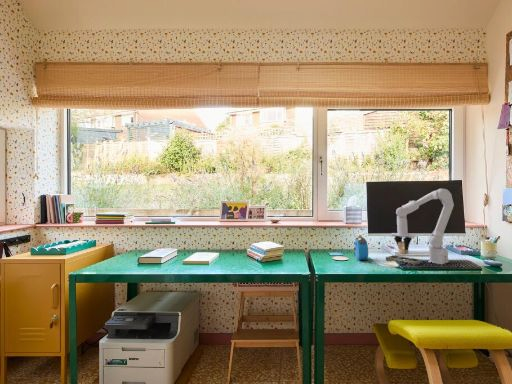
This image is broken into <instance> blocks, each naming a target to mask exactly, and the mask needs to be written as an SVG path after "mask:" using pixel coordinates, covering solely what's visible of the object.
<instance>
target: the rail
mask: <svg viewBox="0 0 512 384" xmlns="http://www.w3.org/2000/svg"><path fill="white" fill-rule="evenodd" d="M403 259H405V260H403ZM396 260H399V261H404V262H408V263H412V264H418V263H421V262H423V263H424V260H423V259H420V258H413V257H407V256H401V255H394V254H392V255H389V256H385V261H388V262H392V261H396ZM411 260H413V261H411ZM418 265H419V264H418Z"/></svg>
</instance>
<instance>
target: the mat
mask: <svg viewBox="0 0 512 384" xmlns="http://www.w3.org/2000/svg"><path fill="white" fill-rule="evenodd" d="M383 265H385V266H390V267H396V268H397V267H400V266H399V265H398V264H397V263H396V262H395V261H388V262H385V263H383Z"/></svg>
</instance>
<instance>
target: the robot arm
mask: <svg viewBox="0 0 512 384" xmlns="http://www.w3.org/2000/svg"><path fill="white" fill-rule="evenodd" d="M431 200H439V201H440V202H441V204H442V205H443V206H442V208H441V212H440V215H439V218H438V219H437V222H436V226H435V228H434V230H433V231H432V234H431V235H430V236H429V237H428V243H429V245H428V251H429V252H428V253H429V260H427V261H428V262H427V263H431V262H432V264H437V265H444V264H447V263H449V262H450V261H449V251H448V249H447V248H444V247H443V244H444V242H443V239H444V233H445V231H446V227H447V225H448V222H449V219H450V217H451V215H452V211H453V209H454V206H455V204H454V199H453V197H452V193H451V192H450V191H449V190H448V189H446V188H438V189H436V190H433V191H431V192H430V193H427V194H426V195H423V196H422V197H421V198H419V199H418V200H409V201H408V203H406V204H403V205H401V207H398V208H396V211H395V214H396V225H397V227H396V229H397V230H396V231H397V232H391V237H394V238H393V239H394V241H395V242H396V245H397V246H398V242H402V241H403V242H404V243H405V250H408V251H409V248H410V247H409V246H410V243H411V241H412V240H413V239H415V234H410V233H408V219H407V215H408V214H411V213H413V212H414V211H416V210H418V209H419V207H420V206H421V205H423V204H426V203H427V202H429V201H431Z"/></svg>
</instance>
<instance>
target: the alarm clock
mask: <svg viewBox="0 0 512 384" xmlns="http://www.w3.org/2000/svg"><path fill="white" fill-rule="evenodd" d="M354 253H355V258H356V260H358V261H368V258H369V246H368V242H367V240H366V239H365V238H364V237H363V236H361V235H358V236H356V237H355V241H354Z"/></svg>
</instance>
